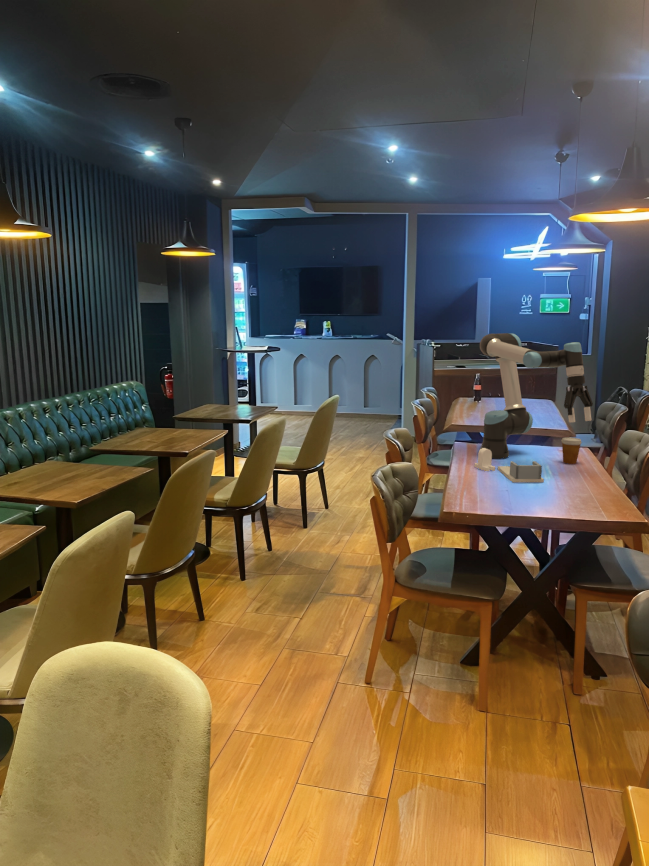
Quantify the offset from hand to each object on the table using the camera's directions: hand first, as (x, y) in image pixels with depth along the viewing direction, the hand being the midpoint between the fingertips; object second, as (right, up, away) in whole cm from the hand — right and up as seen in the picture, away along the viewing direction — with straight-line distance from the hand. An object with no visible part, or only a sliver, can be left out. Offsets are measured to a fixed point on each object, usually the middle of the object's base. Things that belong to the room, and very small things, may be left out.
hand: (580, 421), depth 288 cm
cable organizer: (-41, -23, +12) cm, 49 cm away
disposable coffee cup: (+4, -20, +24) cm, 32 cm away
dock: (-28, -25, -1) cm, 38 cm away
